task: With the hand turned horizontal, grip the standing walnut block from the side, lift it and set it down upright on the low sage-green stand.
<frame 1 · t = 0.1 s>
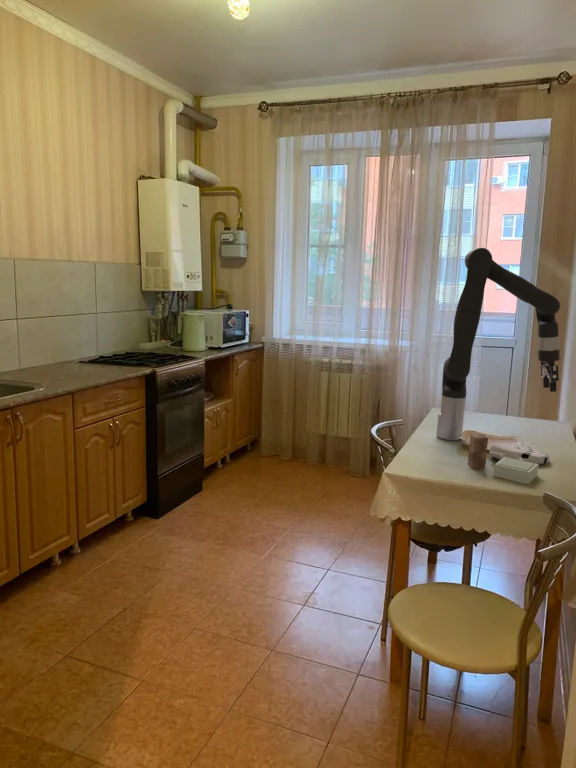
hand: (549, 389, 222), 22 cm above the table, tool pointing down, fingers open, 8 cm apart
stand: (515, 475, 187), on the table
block: (476, 467, 195), on the table
toy: (516, 460, 206), on the table
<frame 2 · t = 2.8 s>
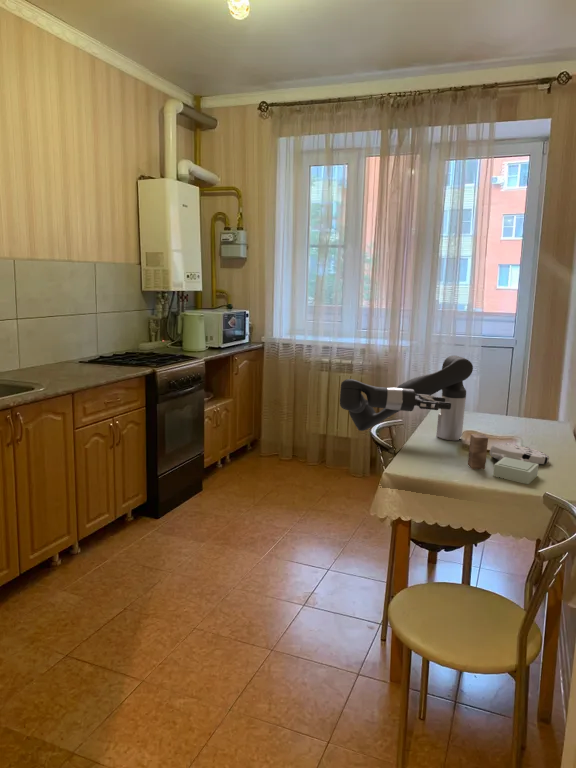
hand: (447, 403, 191), 22 cm above the table, tool horizontal, fingers open, 8 cm apart
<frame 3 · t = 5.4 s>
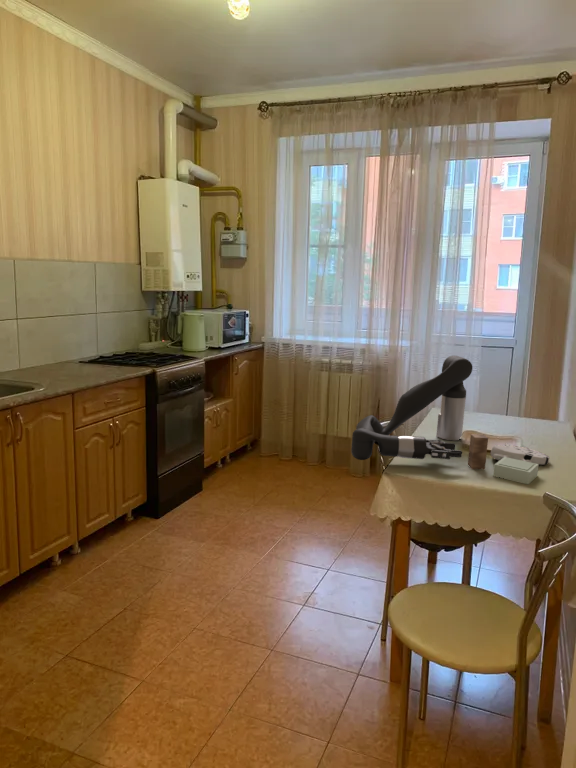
hand: (458, 450, 193), 6 cm above the table, tool horizontal, fingers open, 8 cm apart
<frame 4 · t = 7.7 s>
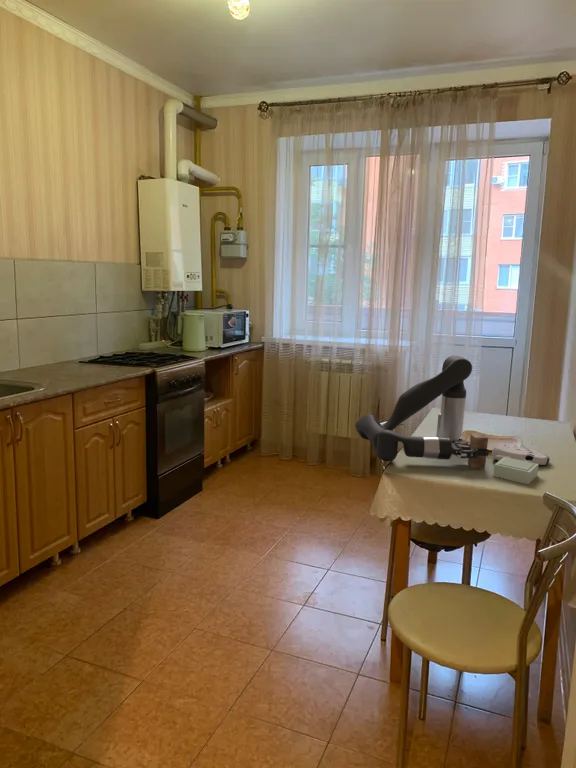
hand: (485, 450, 194), 6 cm above the table, tool horizontal, fingers closed on block, 4 cm apart
block: (476, 466, 195), on the table, touching gripper
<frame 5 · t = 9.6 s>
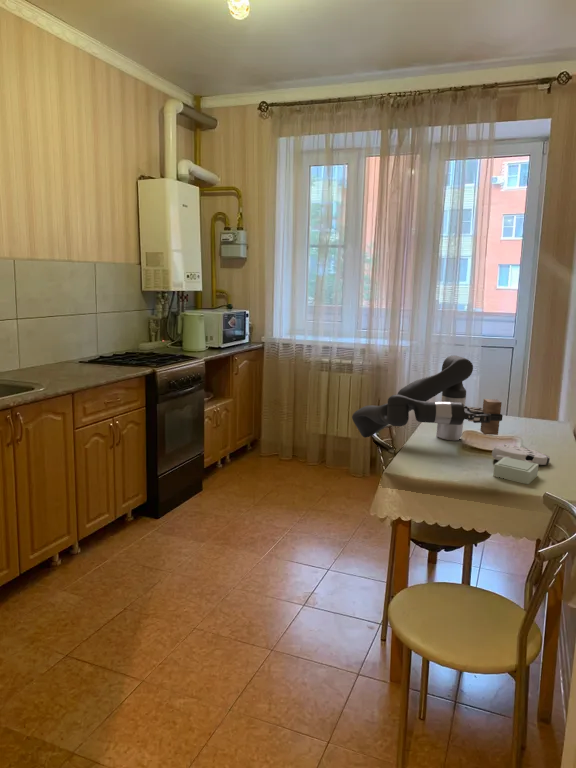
hand: (499, 415, 189), 19 cm above the table, tool horizontal, fingers closed on block, 4 cm apart
block: (489, 432, 190), point 13 cm above the table, touching gripper
when the fingers open (11 cm above the table, at t = 11.9 s): block drops 1 cm, resting on stand.
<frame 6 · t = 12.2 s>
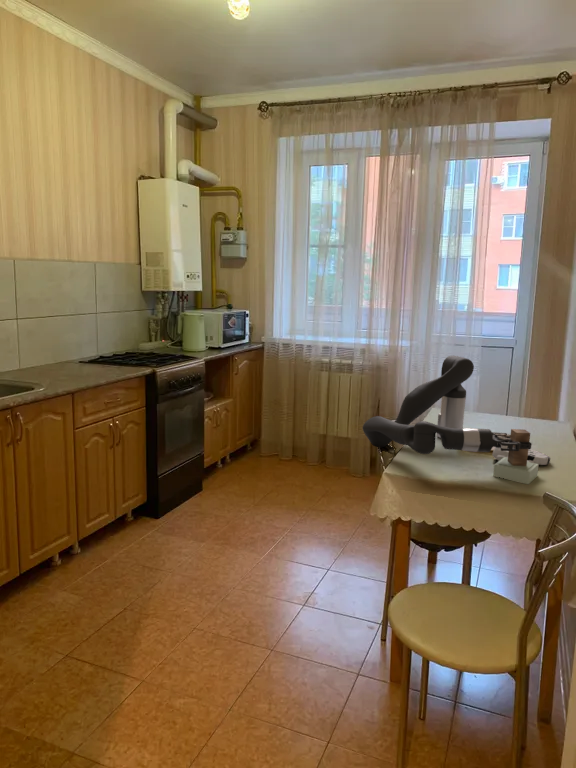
hand: (526, 442, 185), 12 cm above the table, tool horizontal, fingers open, 6 cm apart
block: (516, 463, 186), point 4 cm above the table, touching stand
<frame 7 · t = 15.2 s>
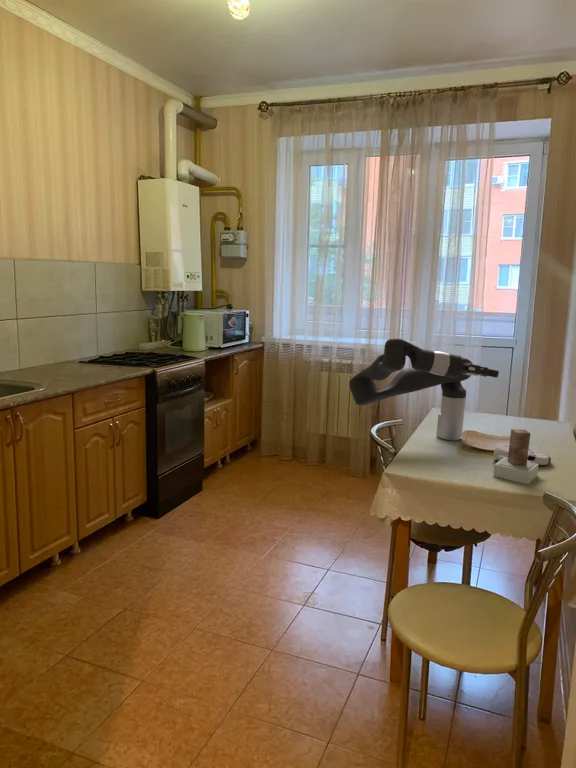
hand: (492, 374, 185), 33 cm above the table, tool horizontal, fingers open, 8 cm apart
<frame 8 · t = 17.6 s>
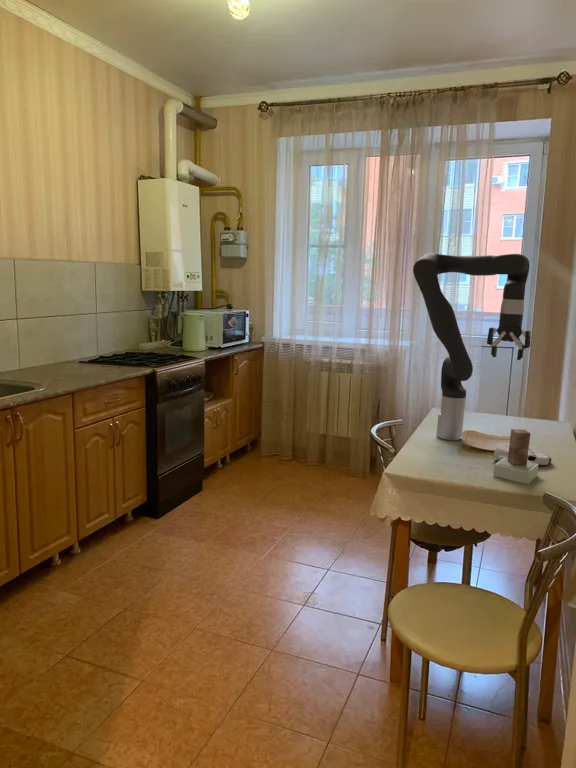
hand: (506, 358, 202), 36 cm above the table, tool pointing down, fingers open, 8 cm apart
at the end: block inside the target area on the stand (0.0 cm from its centre), point 4.2 cm above the stand's base; block tilted 0°; the gripper is holding nothing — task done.
